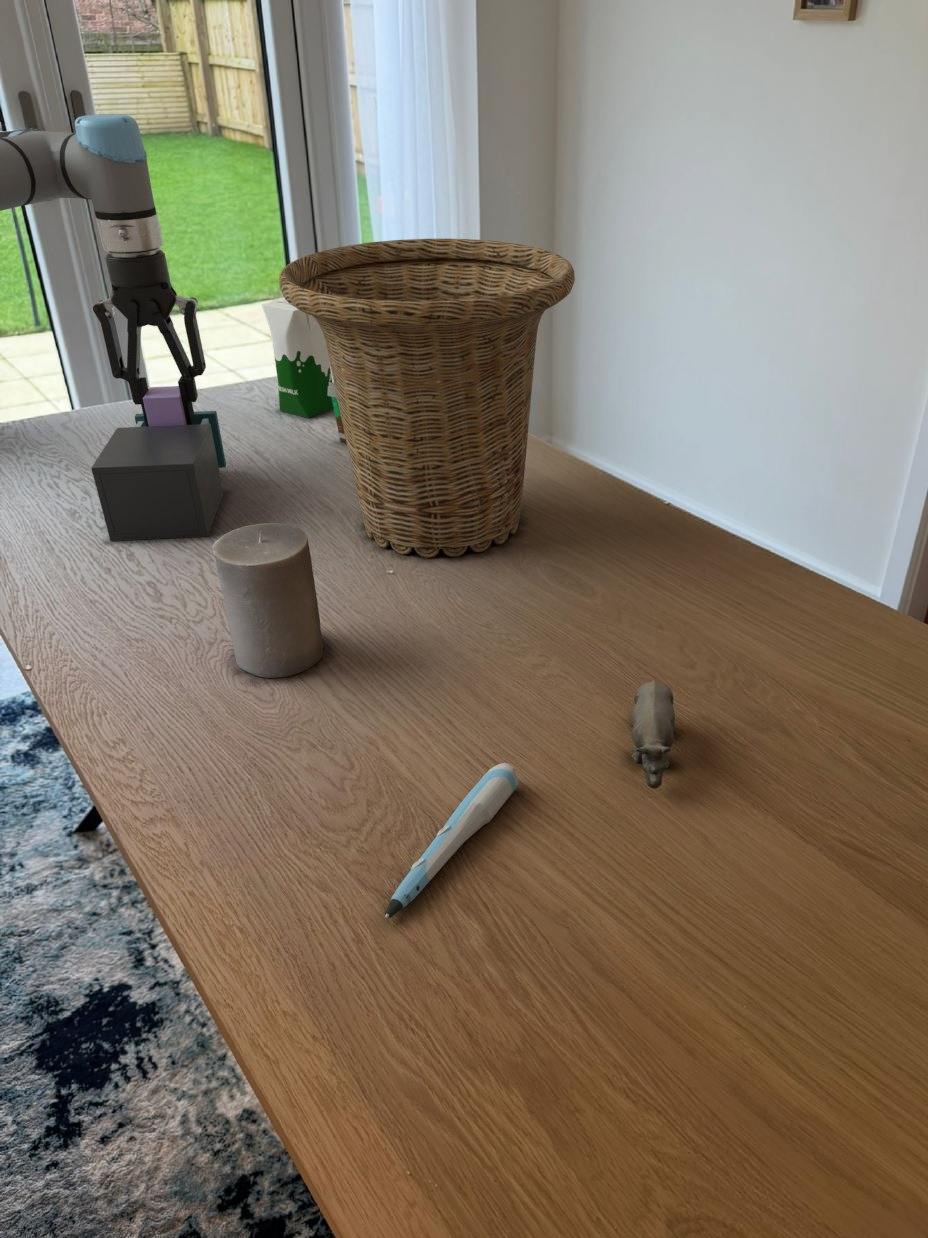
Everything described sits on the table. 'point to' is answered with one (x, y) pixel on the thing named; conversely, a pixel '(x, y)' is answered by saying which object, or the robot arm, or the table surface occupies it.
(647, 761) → the rhino figurine
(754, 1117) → the table surface
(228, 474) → the table surface
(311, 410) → the milk carton
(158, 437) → the dark gray box
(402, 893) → the pen
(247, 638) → the pillar candle
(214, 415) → the tray
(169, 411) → the purple cube
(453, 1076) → the table surface
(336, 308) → the wicker basket
